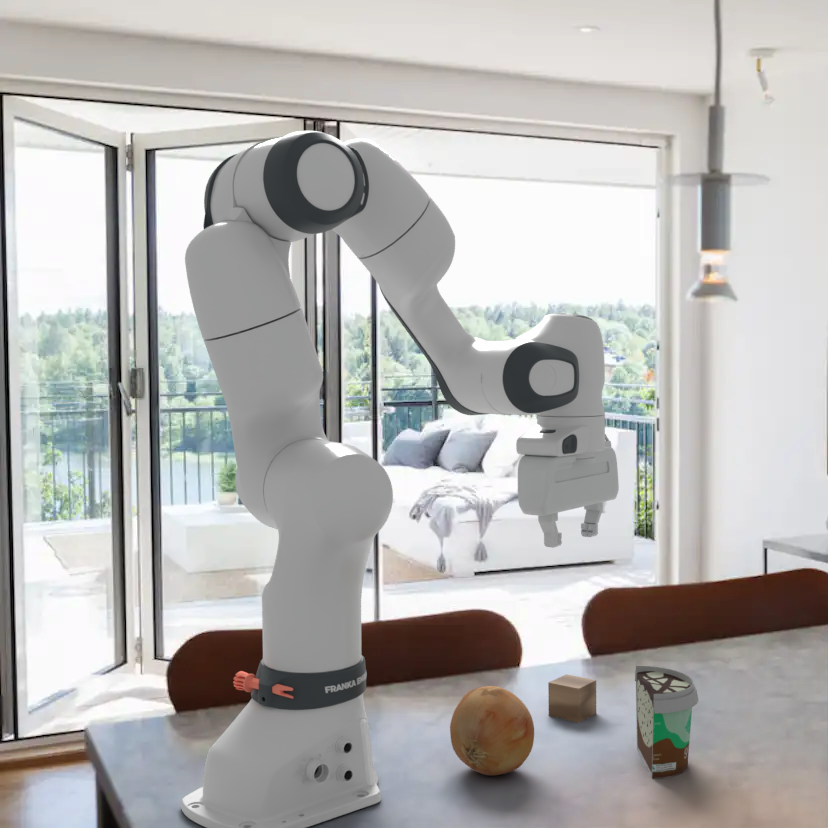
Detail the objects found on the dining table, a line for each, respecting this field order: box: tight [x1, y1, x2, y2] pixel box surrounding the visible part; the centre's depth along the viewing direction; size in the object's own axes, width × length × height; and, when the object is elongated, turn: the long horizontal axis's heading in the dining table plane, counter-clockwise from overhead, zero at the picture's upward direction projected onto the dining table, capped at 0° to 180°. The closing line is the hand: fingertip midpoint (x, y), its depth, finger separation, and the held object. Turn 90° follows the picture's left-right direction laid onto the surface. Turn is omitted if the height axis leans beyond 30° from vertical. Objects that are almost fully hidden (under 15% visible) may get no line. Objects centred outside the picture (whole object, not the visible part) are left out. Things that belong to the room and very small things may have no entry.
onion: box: [449, 685, 535, 776], centre depth 126 cm, size 10×10×10 cm
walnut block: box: [547, 674, 597, 724], centre depth 146 cm, size 5×5×5 cm
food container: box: [634, 665, 699, 779], centre depth 129 cm, size 12×6×10 cm, turn 179°
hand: (571, 541), depth 145 cm, fingers open, 8 cm apart
